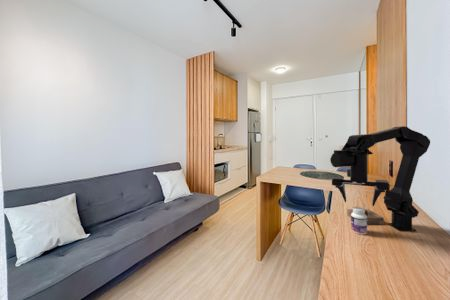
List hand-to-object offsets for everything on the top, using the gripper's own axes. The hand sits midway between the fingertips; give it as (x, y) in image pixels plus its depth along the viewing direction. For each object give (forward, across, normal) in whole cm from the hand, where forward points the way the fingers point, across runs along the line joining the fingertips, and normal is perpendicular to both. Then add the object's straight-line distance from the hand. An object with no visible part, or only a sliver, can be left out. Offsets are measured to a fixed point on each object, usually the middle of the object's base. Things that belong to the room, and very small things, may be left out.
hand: (358, 203), depth 78 cm
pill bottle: (+12, 0, 0) cm, 12 cm away
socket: (+12, -2, -15) cm, 19 cm away
